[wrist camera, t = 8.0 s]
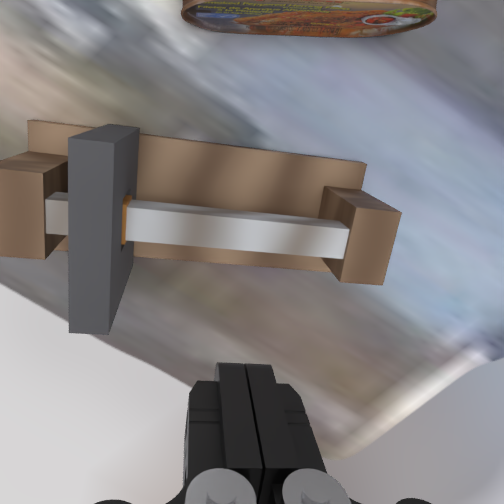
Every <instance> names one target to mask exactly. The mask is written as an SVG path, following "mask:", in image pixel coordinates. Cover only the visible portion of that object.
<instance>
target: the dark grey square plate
mask: <svg viewBox="0 0 504 504" xmlns="http://www.w3.org/2000/svg"><path fill="white" fill-rule="evenodd" d="M139 130H140V128H136V127H128V126H121V125H113V124H107V125H104V126H101V127H98V128H95V129H92V130H89V131H86V132H83V133H80V134H77V135H74V136H71V137H68V264H69V333H82V334H102V335H109V332H110V329H111V326H112V323H113V321H114V318H115V315H116V312H117V309H118V306H119V303H120V301H121V298H122V295H123V292H124V289H125V286H126V283H127V281H128V278H129V275H130V272H131V269H132V266H133V254H134V241H128V240H127V241H126V243H125V245H124V244H121V235H122V209H123V198H124V197H125V195H131V196H132V200H136V192H137V171H138V151H139Z"/></svg>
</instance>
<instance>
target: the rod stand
mask: <svg viewBox="0 0 504 504" xmlns="http://www.w3.org/2000/svg"><path fill="white" fill-rule="evenodd" d="M27 121H28V149H29V151H28V152H25V153H22V154H19V155H16V156H13V157H10V158H7V159H4V160H1V161H0V256H3V257H17V258H30V259H43V260H45V259H46V258H47V257H48V256H49V255H50V253H51V252H52V251H53V250H60V251H68V137H71V136H74V135H77V134H80V133H83V132H86V131H89V130H92V129H95V128H93V127H86V126H78V125H70V124H62V123H55V122H47V121H39V120H27ZM366 166H367V164H366V163H363V162H357V161H349V160H342V159H334V158H326V157H318V156H311V155H303V154H295V153H287V152H280V151H272V150H264V149H256V148H249V147H241V146H233V145H225V144H218V143H210V142H202V141H194V140H186V139H179V138H171V137H163V136H155V135H148V134H140V133H139V151H138V171H137V192H136V200H132V196H131V195H125V197H124V198H123V209H122V235H121V244H124V245H125V243H126V241H127V240H128V241H134V254H133V256H135V257H148V258H160V259H173V260H185V261H198V262H210V263H222V264H235V265H247V266H260V267H272V268H285V269H297V270H310V271H322V272H332V273H333V274H334V275H335V277H336V278H337V279H338V280H339V282H345V283H358V284H371V285H383V282H384V279H385V275H386V271H387V267H388V263H389V259H390V256H391V252H392V248H393V244H394V240H395V237H396V233H397V229H398V225H399V221H400V217H401V214H402V212H400V211H398V210H396V209H395V208H393V207H391V206H389V205H387V204H386V203H384V202H382V201H380V200H378V199H377V198H375V197H373V196H371V195H369V194H367V193H366V192H364V191H362V190H361V188H362V184H363V179H364V175H365V171H366Z"/></svg>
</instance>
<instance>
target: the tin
mask: <svg viewBox="0 0 504 504" xmlns="http://www.w3.org/2000/svg"><path fill="white" fill-rule="evenodd" d="M436 4H437V0H183V8H182V10H181V16H182V18H183V19H184V20H185V21H186V22H188V23H190V24H193V25H195V26H198V27H201V28H204V29H207V30H212V31H218V32H225V33H236V34H258V35H290V36H316V37H349V38H350V37H371V36H382V35H389V34H395V33H401V32H405V31H409V30H413V29H417V28H420V27H423V26H426V25H428V24H430V23H431V22H433V21H434V20H435V19H436V17H437V11H436Z"/></svg>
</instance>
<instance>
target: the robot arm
mask: <svg viewBox="0 0 504 504" xmlns="http://www.w3.org/2000/svg"><path fill="white" fill-rule="evenodd" d="M184 439H185V440H184V471H183V488H182V490H181V491H180V493H179V494H178V495H177V496H176V497H175V498H173V499H172V500H171V501H169V502H168V503H166V504H361V503H358V502H356V501H354V500H352V499H350V498H349V497H348V495H347V493H346V491H345V489H344V488H343V487H342V486H341V484H340V483H339V482H338V481H337V480H336V479H334V478H333V477H332V476H330V475H329V474H327V472H326V469H325V466H324V463H323V460H322V457H321V454H320V451H319V448H318V446H317V443H316V440H315V437H314V434H313V431H312V428H311V426H310V423H309V420H308V417H307V414H305V408H304V405H303V403H302V400H301V397H300V396H299V394H298V393H297V392H296V391H295V390H294V389H293V388H292V387H291V386H290V385H289V384H278V383H276V380H275V376H274V373H273V369H272V366H271V365H266V364H241V363H218V362H217V364H216V370H215V377H214V381H197V382H196V384H195V385H194V387H193V388H192V390H191V391H190V393H189V402H188V410H187V420H186V429H185V438H184ZM95 504H131V503H129V502H126V501H122V500H105V501H101V502H97V503H95ZM396 504H431V503H429V502H426V501H424V500H420V499H415V498H406V499H402V500H401V501H398V502H397V503H396Z"/></svg>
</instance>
